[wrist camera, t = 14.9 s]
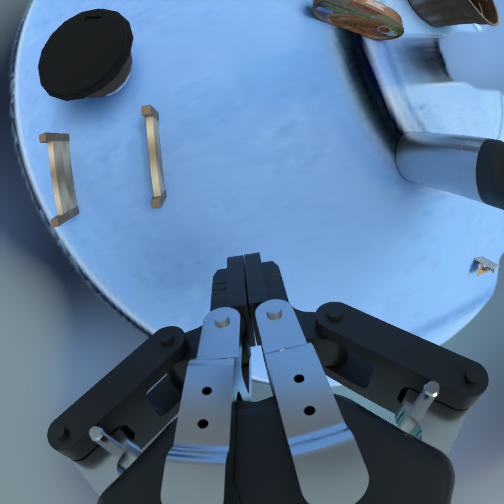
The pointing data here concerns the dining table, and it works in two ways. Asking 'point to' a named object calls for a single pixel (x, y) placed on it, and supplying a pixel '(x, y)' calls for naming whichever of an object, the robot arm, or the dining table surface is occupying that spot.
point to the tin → (360, 17)
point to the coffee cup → (87, 56)
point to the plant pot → (456, 12)
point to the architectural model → (487, 263)
